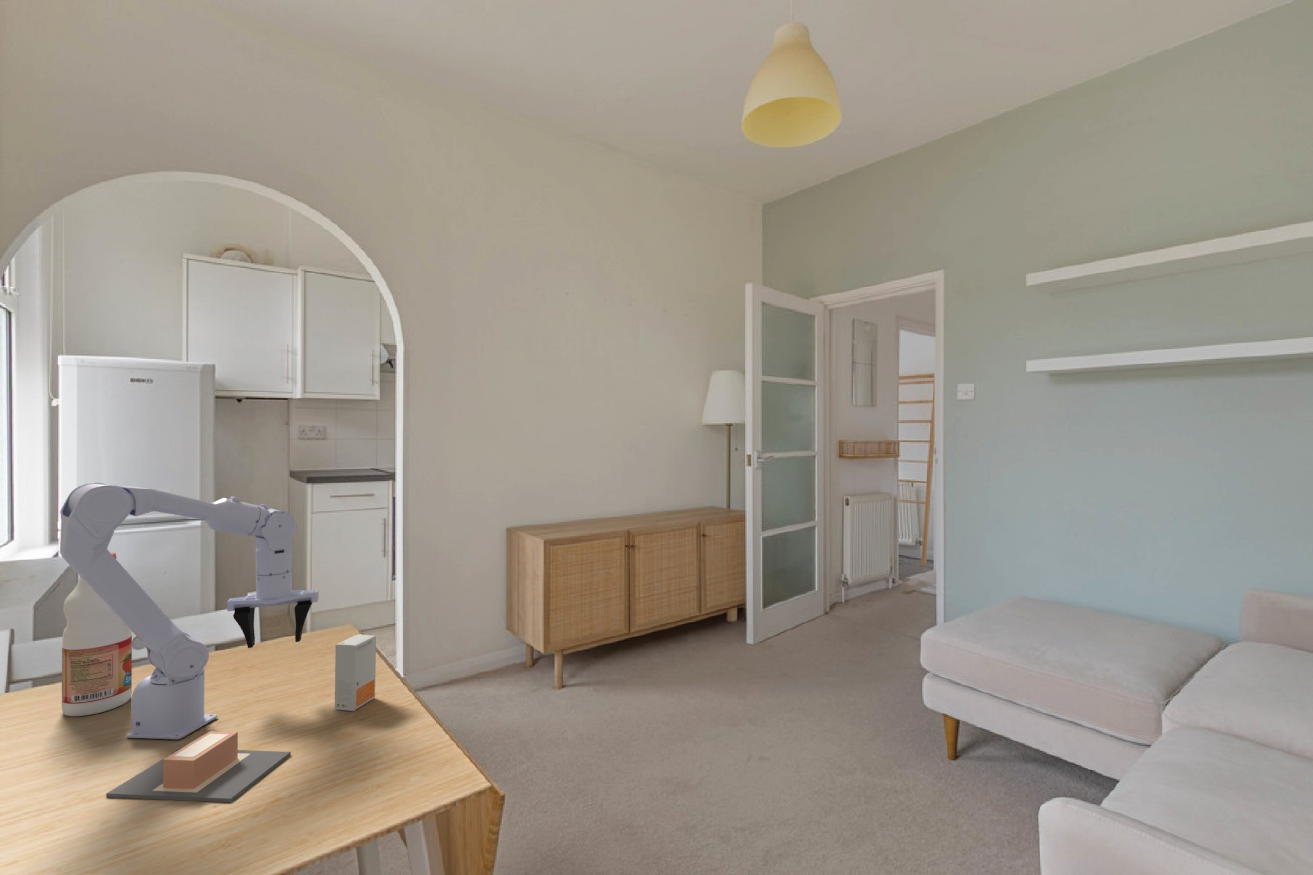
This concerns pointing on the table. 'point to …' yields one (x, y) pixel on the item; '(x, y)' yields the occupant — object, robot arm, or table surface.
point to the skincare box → (355, 672)
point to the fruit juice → (94, 655)
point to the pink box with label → (200, 760)
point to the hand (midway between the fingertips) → (275, 643)
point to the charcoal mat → (214, 789)
